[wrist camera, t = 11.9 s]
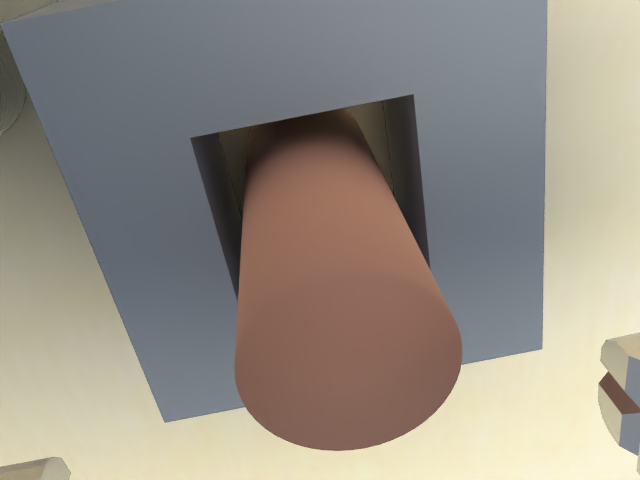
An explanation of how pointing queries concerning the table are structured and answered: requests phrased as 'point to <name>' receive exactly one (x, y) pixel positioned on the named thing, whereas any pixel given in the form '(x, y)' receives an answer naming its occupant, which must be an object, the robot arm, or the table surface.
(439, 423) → the table surface
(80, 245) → the table surface
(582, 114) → the table surface
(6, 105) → the short pin
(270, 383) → the long pin
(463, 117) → the bore block
